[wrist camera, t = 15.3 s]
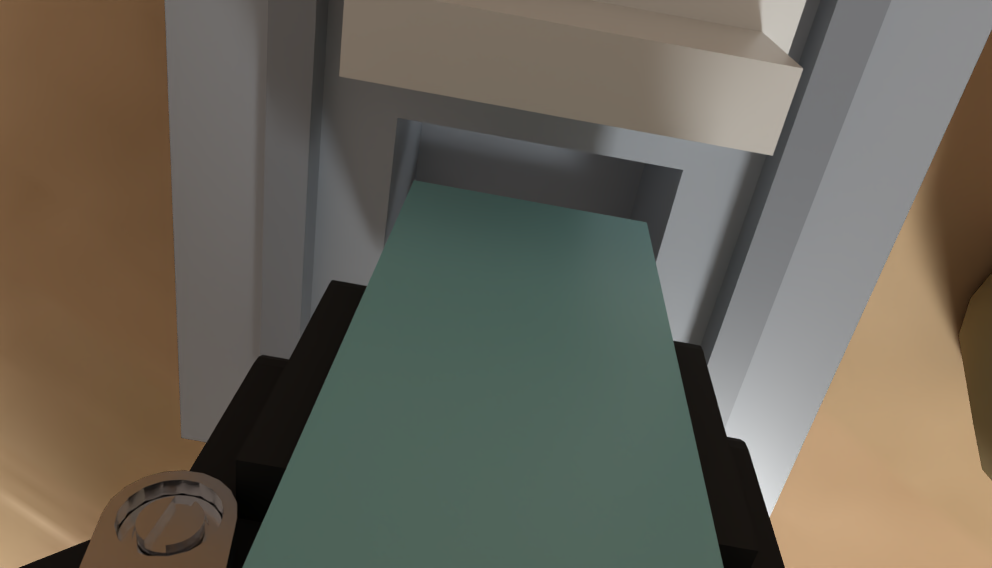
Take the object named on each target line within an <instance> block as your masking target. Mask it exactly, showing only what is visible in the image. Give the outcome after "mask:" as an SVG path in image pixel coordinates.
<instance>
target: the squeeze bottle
mask: <svg viewBox="0 0 992 568" xmlns="http://www.w3.org/2000/svg"><path fill="white" fill-rule="evenodd" d="M959 342H960V347H961V353H962V359H963V365H964V371H965V377H966V383H967V389H968V395H969V401H970V407H971V413H972V419H973V424H974V429H975V435H976V440H977V445H978V450H979V456H980V461H981V466H982V470H983V471H984V472H985V473H986V474H987V475H988V477H989V478H990V479H991V480H992V273H991V274H990V275H989V276H988V278H987V279H986V280H985V281H984V283H983V284H982V285H981V286H980V287H979V289H978V290H977V291H976V292H975V294H974V295H973V296H972V297H971V298H970V301H969V304H968V307H967V311H966V314H965V317H964V320H963V323H962V327H961V330H960V333H959Z"/></svg>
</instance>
